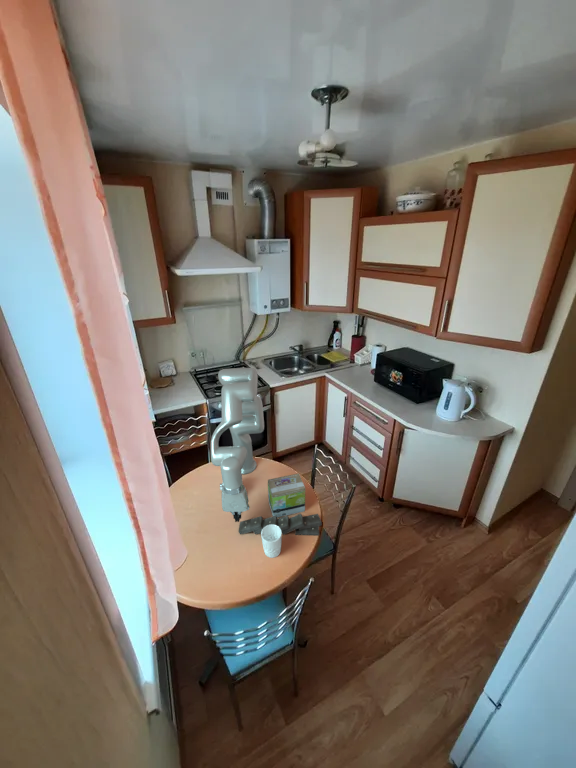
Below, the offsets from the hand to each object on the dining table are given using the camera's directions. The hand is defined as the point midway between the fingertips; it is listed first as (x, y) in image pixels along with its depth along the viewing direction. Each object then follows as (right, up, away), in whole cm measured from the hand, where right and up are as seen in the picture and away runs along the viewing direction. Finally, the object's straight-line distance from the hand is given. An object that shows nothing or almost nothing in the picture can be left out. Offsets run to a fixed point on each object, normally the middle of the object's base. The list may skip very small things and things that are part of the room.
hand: (237, 519), depth 131 cm
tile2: (+12, -5, +2) cm, 13 cm away
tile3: (+18, -5, +2) cm, 19 cm away
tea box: (+20, 0, +13) cm, 24 cm away
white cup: (+15, -10, -6) cm, 19 cm away
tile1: (+7, -5, +3) cm, 9 cm away
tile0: (+1, -5, +3) cm, 6 cm away
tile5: (+24, -5, +2) cm, 25 cm away
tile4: (+25, -3, +3) cm, 25 cm away
